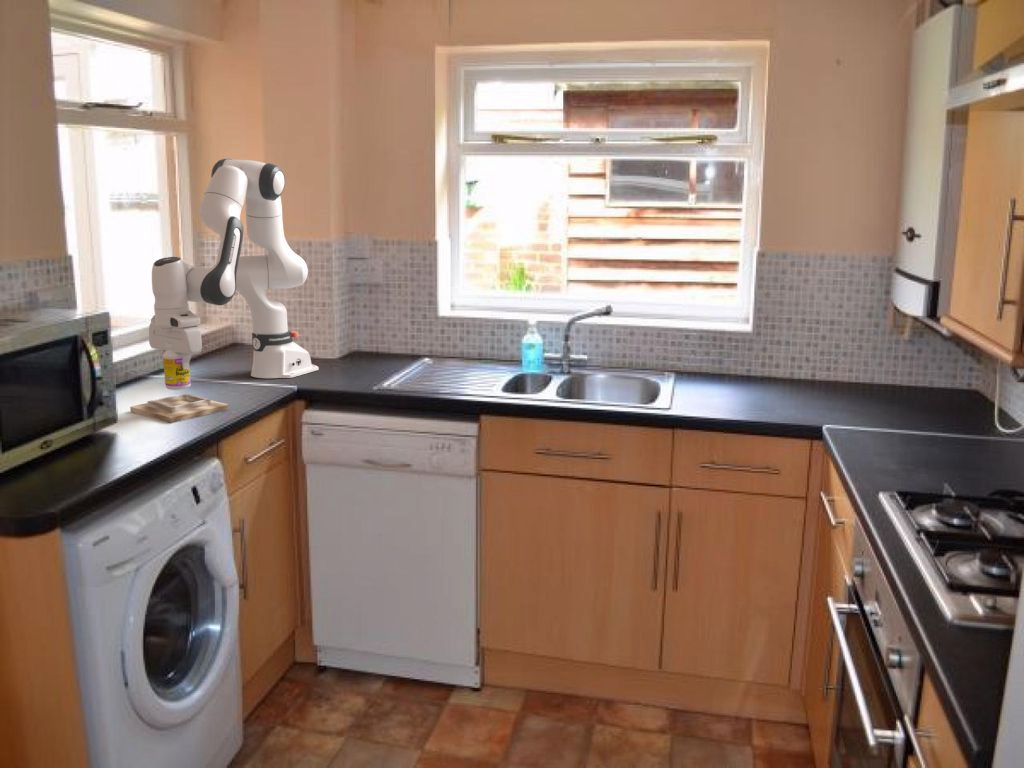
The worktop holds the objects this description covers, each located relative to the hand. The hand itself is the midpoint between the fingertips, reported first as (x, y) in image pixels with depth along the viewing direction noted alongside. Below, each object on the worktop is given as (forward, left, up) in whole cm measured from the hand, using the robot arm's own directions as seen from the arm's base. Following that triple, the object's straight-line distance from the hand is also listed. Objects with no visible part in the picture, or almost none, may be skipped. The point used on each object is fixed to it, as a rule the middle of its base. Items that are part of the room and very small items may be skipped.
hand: (176, 367), depth 255 cm
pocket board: (0, 0, -12) cm, 12 cm away
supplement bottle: (0, 0, -6) cm, 6 cm away
